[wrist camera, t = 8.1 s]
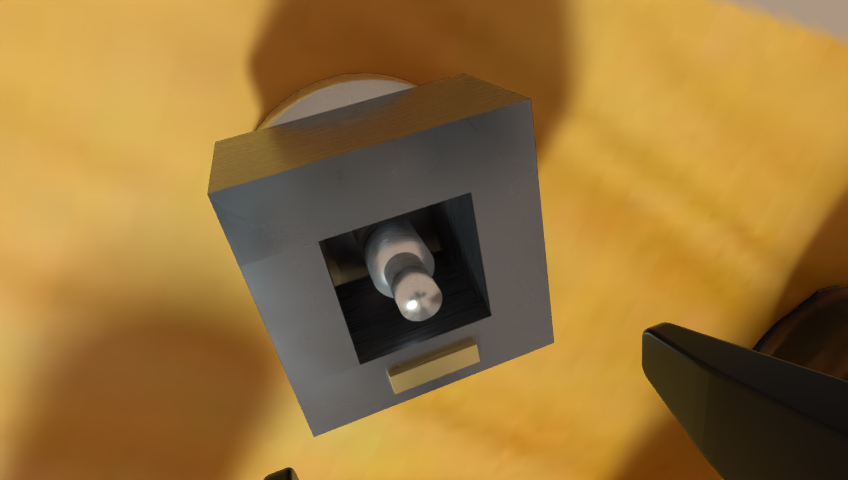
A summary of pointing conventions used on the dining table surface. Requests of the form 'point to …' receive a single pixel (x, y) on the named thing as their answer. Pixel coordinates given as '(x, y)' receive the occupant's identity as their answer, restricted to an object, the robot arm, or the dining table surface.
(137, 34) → the dining table surface
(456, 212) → the grey knob housing box
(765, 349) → the ceramic jug
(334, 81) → the hub
